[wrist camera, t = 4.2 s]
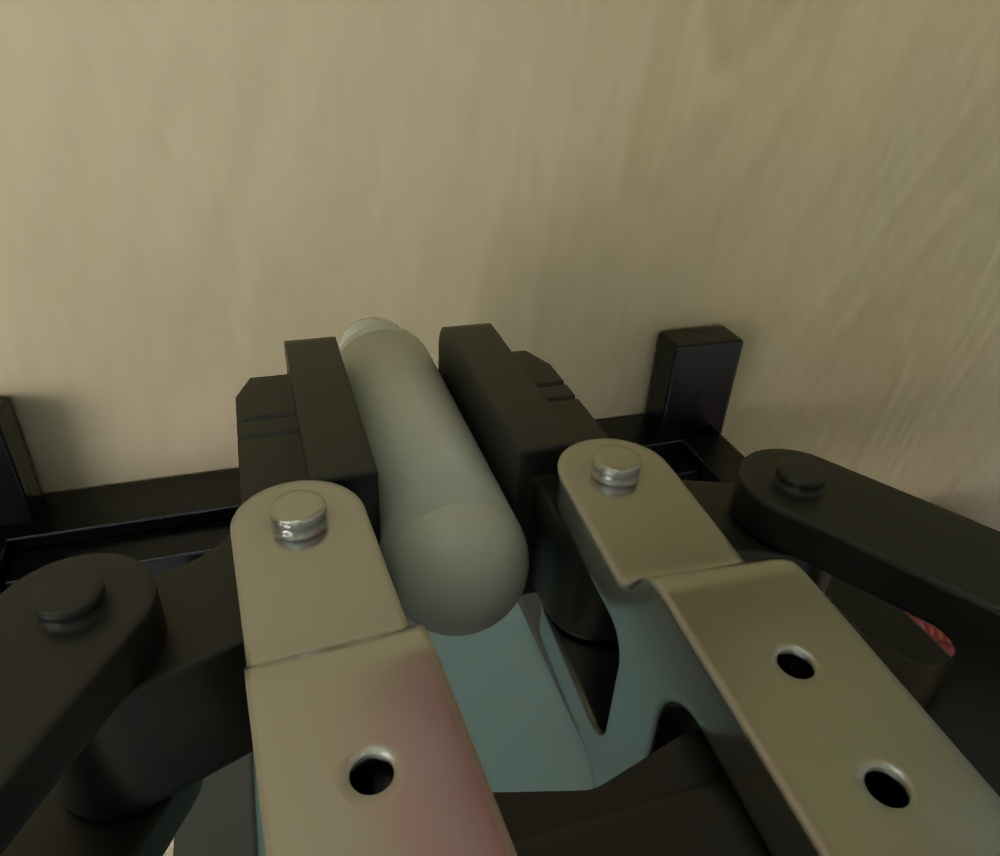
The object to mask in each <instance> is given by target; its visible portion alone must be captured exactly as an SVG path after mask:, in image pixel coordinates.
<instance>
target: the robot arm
mask: <svg viewBox="0 0 1000 856" xmlns="http://www.w3.org/2000/svg"><path fill="white" fill-rule="evenodd" d="M284 347H285V357H286V365H287V374H286V375H276V376H266V377H256V378H250V379H249V381H248V382H247V383H246V385H245V386H244V387H243V389H242V390H241V391H240V393H239V394H238V395H237V397H236V414H237V434H238V453H239V473H240V492H241V506H240V507H239V508H238V510H237V511H236V512H235V514H234V516H233V518H232V521H231V524H230V534H229V536H228V537H227V538H226V539H225V540H224V541H222V542H221V543H220V544H219V545H218V546H216V547H215V548H214V549H212V550H211V551H209V552H208V553H206V554H204V555H202V556H201V557H199V558H197V559H195V560H193V561H190V562H188V563H186V564H183V565H181V566H178V567H176V568H173V569H170V570H168V571H165V572H163V573H160V574H157V575H155V576H154V575H153V573H152V572H151V571H150V569H149V568H148V567H147V566H146V565H144V564H143V563H142V562H140V561H138V560H136V559H134V558H132V557H129V556H125V555H121V554H114V553H92V554H83V555H78V556H73V557H69V558H65V559H62V560H59V561H55V562H53V563H50V564H48V565H45V566H43V567H41V568H39V569H37V570H35V571H33V572H31V573H29V574H27V575H26V576H24V577H23V578H21V579H19V580H18V581H16V582H15V583H14V584H13V585H11V586H10V587H9V588H7V589H6V590H5V591H4V592H3V593H2V594H1V595H0V856H163V855H164V853H165V851H166V850H167V848H168V846H169V845H170V843H171V841H172V840H173V838H174V836H175V835H176V833H177V831H178V830H179V828H180V826H181V825H182V823H183V821H184V820H185V818H186V816H187V815H188V813H189V811H190V810H191V808H192V806H193V805H194V803H195V801H196V799H197V797H198V795H199V793H200V791H201V788H202V785H203V782H204V778H205V777H207V776H209V775H211V774H213V773H214V772H216V771H218V770H220V769H222V768H224V767H225V766H227V765H229V764H231V763H233V762H234V761H236V760H238V759H240V758H242V757H244V756H245V755H247V754H249V753H251V752H253V751H254V759H255V768H256V776H257V784H258V793H259V801H260V809H261V818H262V826H263V834H264V842H265V851H266V856H1000V531H997V530H995V529H992V528H990V527H987V526H985V525H983V524H980V523H978V522H975V521H973V520H970V519H968V518H965V517H963V516H961V515H958V514H956V513H953V512H951V511H948V510H946V509H944V508H941V507H939V506H936V505H934V504H931V503H929V502H927V501H924V500H922V499H919V498H917V497H914V496H912V495H910V494H907V493H905V492H902V491H900V490H897V489H895V488H893V487H890V486H888V485H885V484H883V483H880V482H878V481H876V480H873V479H871V478H868V477H866V476H863V475H861V474H858V473H856V472H854V471H851V470H849V469H846V468H844V467H841V466H839V465H837V464H834V463H832V462H829V461H827V460H824V459H822V458H819V457H817V456H814V455H811V454H808V453H804V452H800V451H795V450H788V449H766V450H760V451H756V452H754V453H751V454H749V455H748V456H747V457H745V458H744V459H743V461H742V462H741V464H740V467H739V471H738V474H737V478H736V482H735V483H723V482H707V481H690V480H681V479H680V478H679V477H678V476H677V474H676V473H675V472H674V471H673V469H672V468H671V467H670V465H669V464H668V463H667V462H666V461H665V460H664V459H663V458H662V457H661V456H659V455H658V454H657V453H655V452H654V451H652V450H650V449H648V448H646V447H644V446H642V445H639V444H636V443H633V442H629V441H625V440H619V439H610V438H609V437H608V436H607V434H606V433H605V432H604V431H603V430H602V428H601V427H600V426H599V425H598V423H597V422H596V421H595V420H594V418H593V417H592V416H591V415H590V413H589V412H588V411H587V410H586V408H585V407H584V406H583V405H582V404H581V402H580V401H579V400H578V399H575V395H574V394H573V392H572V391H571V390H570V389H569V387H568V386H567V385H564V381H563V380H562V379H561V378H560V376H559V375H558V374H557V373H556V371H555V370H554V369H553V368H552V366H551V365H550V364H549V363H547V362H545V361H543V360H541V359H540V358H538V357H536V356H534V355H532V354H531V353H529V352H527V351H516V352H511V350H510V349H509V348H508V346H507V345H506V344H505V342H504V341H503V340H502V338H501V337H500V335H499V334H498V333H497V331H496V330H495V329H494V327H493V326H492V325H491V324H490V323H486V324H474V325H463V326H452V327H443V328H442V329H441V331H440V336H439V373H440V375H441V377H442V378H443V380H444V382H445V384H446V386H447V388H448V390H449V392H450V394H451V395H452V397H453V399H454V401H455V403H456V405H457V407H458V409H459V411H460V412H461V414H462V416H463V418H464V420H465V422H466V424H467V426H468V428H469V429H470V431H471V433H472V435H473V437H474V439H475V441H476V443H477V445H478V447H479V448H480V450H481V452H482V454H483V456H484V458H485V460H486V462H487V464H488V465H489V467H490V469H491V471H492V473H493V475H494V477H495V479H496V481H497V482H498V484H499V486H500V488H501V490H502V492H503V494H504V496H505V498H506V499H507V501H508V503H509V505H510V507H511V509H512V511H513V513H514V515H515V516H516V518H517V520H518V522H519V524H520V526H521V528H522V530H523V533H524V536H525V539H526V542H527V545H528V552H529V571H528V576H527V580H526V585H525V588H524V590H523V592H522V595H526V594H531V593H537V595H538V597H539V599H540V601H541V603H542V610H541V619H540V635H541V639H542V642H543V644H544V647H545V649H546V652H547V654H548V657H549V659H550V662H551V664H552V667H553V669H554V672H555V674H556V677H557V680H558V682H559V685H560V687H561V690H562V692H563V695H564V697H565V700H566V702H567V705H568V707H569V710H570V712H571V715H572V717H573V720H574V722H575V725H576V727H577V730H578V732H579V735H580V737H581V740H582V742H583V745H584V747H585V750H586V753H587V756H588V759H589V763H590V767H591V771H592V778H593V789H590V790H580V791H534V792H492V790H491V787H490V785H489V782H488V780H487V777H486V775H485V772H484V770H483V767H482V764H481V762H480V759H479V757H478V754H477V752H476V749H475V747H474V744H473V742H472V739H471V737H470V734H469V732H468V729H467V727H466V724H465V722H464V719H463V717H462V714H461V712H460V709H459V706H458V704H457V701H456V699H455V696H454V694H453V691H452V689H451V686H450V684H449V681H448V679H447V676H446V674H445V671H444V669H443V666H442V664H441V661H440V659H439V656H438V654H437V651H436V649H435V646H434V644H433V641H432V639H431V637H430V635H429V633H428V631H427V630H426V628H425V627H424V626H423V625H422V624H416V625H412V626H409V625H408V622H407V620H406V617H405V615H404V612H403V609H402V606H401V604H400V601H399V598H398V596H397V593H396V590H395V588H394V585H393V582H392V579H391V577H390V574H389V571H388V569H387V566H386V563H385V561H384V558H383V555H382V553H381V550H380V547H379V544H380V539H381V529H380V508H379V487H378V471H377V467H376V464H375V461H374V458H373V455H372V452H371V448H370V445H369V442H368V439H367V436H366V433H365V429H364V426H363V423H362V420H361V417H360V414H359V410H358V407H357V404H356V401H355V398H354V395H353V391H352V388H351V385H350V382H349V379H348V376H347V372H346V369H345V366H344V363H343V360H342V357H341V353H340V350H339V347H338V344H337V341H336V338H335V337H326V338H314V339H303V340H292V341H284ZM831 576H835V577H837V578H839V579H841V580H843V581H845V582H847V583H849V584H851V585H853V586H855V587H857V588H859V589H861V590H863V591H865V592H867V593H869V594H871V595H873V596H875V597H877V598H879V599H881V600H883V601H885V602H887V603H889V604H891V605H893V606H895V607H897V608H899V609H901V610H903V611H905V612H907V613H909V614H911V615H913V616H915V617H917V618H919V619H922V620H924V621H926V622H928V623H930V624H931V625H933V626H935V627H936V628H938V629H939V630H940V631H942V632H943V633H944V634H945V635H946V636H947V637H948V638H949V640H950V641H951V642H952V644H953V646H954V648H955V651H956V652H955V654H954V656H953V657H952V659H951V660H950V661H948V662H947V663H945V664H942V665H937V666H929V665H923V664H920V663H917V662H915V661H913V660H911V659H909V658H907V657H905V656H903V655H901V654H899V653H897V652H895V651H893V650H891V649H890V648H888V647H886V646H884V645H882V644H880V643H878V642H876V641H874V640H872V639H871V638H869V637H867V636H865V635H863V634H861V633H859V632H857V631H856V630H855V629H854V628H853V627H852V626H851V625H850V623H849V622H848V621H847V620H846V619H845V618H844V616H843V615H842V614H841V613H840V612H839V611H838V610H837V608H836V607H835V606H834V605H833V604H832V603H831V601H830V600H829V599H828V598H827V597H826V596H825V595H824V594H825V591H826V589H827V586H828V584H829V581H830V579H831Z"/></svg>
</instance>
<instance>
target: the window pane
mask: <svg viewBox="0 0 1000 856" xmlns="http://www.w3.org/2000/svg"><path fill="white" fill-rule="evenodd" d="M339 350H340V353H341V357H342V360H343V363H344V366H345V369H346V372H347V376H348V379H349V382H350V385H351V388H352V391H353V395H354V398H355V401H356V404H357V407H358V410H359V414H360V417H361V420H362V423H363V426H364V429H365V433H366V436H367V439H368V442H369V445H370V448H371V452H372V455H373V458H374V461H375V464H376V467H377V471H378V487H379V508H380V529H381V539H380V544H379V547H380V550H381V553H382V555H383V558H384V561H385V563H386V566H387V569H388V571H389V574H390V577H391V579H392V582H393V585H394V588H395V590H396V593H397V596H398V598H399V601H400V604H401V606H402V609H403V612H404V615H405V617H406V620H407V622H408V625H409V626H412V625H416V624H422V625H423V626H424V627H425V628H426V630H427V631H428V633H429V635H430V637H431V639H432V641H433V644H434V646H435V649H436V651H437V654H438V656H439V659H440V661H441V664H442V666H443V669H444V671H445V674H446V676H447V679H448V681H449V684H450V686H451V689H452V691H453V694H454V696H455V699H456V701H457V704H458V706H459V709H460V712H461V714H462V717H463V719H464V722H465V724H466V727H467V729H468V732H469V734H470V737H471V739H472V742H473V744H474V747H475V749H476V752H477V754H478V757H479V759H480V762H481V764H482V767H483V770H484V772H485V775H486V777H487V780H488V782H489V785H490V787H491V790H492V792H534V791H580V790H590V789H593V778H592V771H591V767H590V763H589V759H588V756H587V753H586V750H585V747H584V745H583V742H582V740H581V737H580V735H579V732H578V730H577V727H576V725H575V722H574V720H573V717H572V715H571V712H570V710H569V707H568V705H567V702H566V700H565V697H564V695H563V692H562V690H561V687H560V685H559V682H558V680H557V677H556V674H555V672H554V669H553V667H552V664H551V662H550V659H549V657H548V654H547V652H546V649H545V647H544V644H543V642H542V639H541V635H540V619H541V610H542V603H541V601H540V599H539V597H538V595H537V593H531V594H526V595H522V592H523V590H524V588H525V585H526V580H527V576H528V571H529V552H528V545H527V542H526V539H525V536H524V533H523V530H522V528H521V526H520V524H519V522H518V520H517V518H516V516H515V515H514V513H513V511H512V509H511V507H510V505H509V503H508V501H507V499H506V498H505V496H504V494H503V492H502V490H501V488H500V486H499V484H498V482H497V481H496V479H495V477H494V475H493V473H492V471H491V469H490V467H489V465H488V464H487V462H486V460H485V458H484V456H483V454H482V452H481V450H480V448H479V447H478V445H477V443H476V441H475V439H474V437H473V435H472V433H471V431H470V429H469V428H468V426H467V424H466V422H465V420H464V418H463V416H462V414H461V412H460V411H459V409H458V407H457V405H456V403H455V401H454V399H453V397H452V395H451V394H450V392H449V390H448V388H447V386H446V384H445V382H444V380H443V378H442V377H441V375H440V373H439V371H438V369H437V367H436V365H435V363H434V361H433V360H432V358H431V356H430V354H429V352H428V350H427V349H426V347H425V346H424V345H423V344H422V342H421V341H420V340H419V339H418V338H417V337H416V336H414V335H413V334H411V333H410V332H408V331H406V330H404V329H401V328H400V327H399V326H397V325H396V324H395V323H393V322H391V321H389V320H387V319H383V318H379V317H369V318H365V319H362V320H359V321H357V322H355V323H354V324H352V325H351V326H350V327H349V328H348V329H347V330H346V331H345V332H344V334H343V336H342V338H341V340H340V343H339ZM173 856H266V851H265V842H264V834H263V826H262V818H261V809H260V801H259V793H258V784H257V776H256V768H255V759H254V751H253V752H251V753H249V754H247V755H245V756H244V757H242V758H240V759H238V760H236V761H234V762H233V763H231V764H229V765H227V766H225V767H224V768H222V769H220V770H218V771H216V772H214V773H213V774H211V775H209V776H207V777H205V778H204V782H203V785H202V788H201V791H200V793H199V795H198V797H197V799H196V801H195V803H194V805H193V806H192V808H191V810H190V811H189V813H188V815H187V816H186V818H185V820H184V821H183V823H182V825H181V826H180V828H179V830H178V831H177V833H176V835H175V836H174V852H173Z"/></svg>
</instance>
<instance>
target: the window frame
mask: <svg viewBox="0 0 1000 856" xmlns="http://www.w3.org/2000/svg"><path fill="white" fill-rule="evenodd" d="M742 346H743V340H742V339H741V338H739V337H738V336H737V335H735V334H734V333H733V332H731V331H730V330H729V329H727V328H726V327H724V326H717V327H707V328H697V329H687V330H677V331H667V332H660V333H659V336H658V341H657V347H656V352H655V358H654V364H653V369H652V375H651V381H650V386H649V392H648V397H647V403H646V409H645V414H640V415H632V416H625V417H617V418H610V419H603V420H595V421H596V422H597V423H598V425H599V426H600V427H601V428H602V430H603V431H604V432H605V433H606V434H607V436H608V437H609V438H610V439H619V440H625V441H629V442H633V443H636V444H639V445H642V446H644V447H646V448H648V449H650V450H652V451H654V452H655V453H657V454H658V455H659V456H661V457H662V458H663V459H664V460H665V461H666V462H667V463H668V464H669V465H670V467H671V468H672V469H673V471H674V472H675V473H676V474H677V476H678V477H679V478H680V479H681V480H690V481H707V482H723V483H735V482H736V478H737V474H738V471H739V467H740V464H741V462H742V461H743V459H744V458H745V457H744V456H743V455H742V454H741V453H740V452H739V451H738V450H737V449H736V448H734V447H733V446H732V445H731V444H730V443H729V442H728V441H727V440H726V439H725V438H724V437H723V436H722V435H721V431H722V427H723V423H724V419H725V415H726V411H727V407H728V403H729V399H730V395H731V391H732V387H733V383H734V379H735V374H736V370H737V366H738V362H739V358H740V354H741V350H742ZM240 506H241V492H240V473H239V468H237V469H229V470H222V471H214V472H207V473H199V474H192V475H184V476H177V477H169V478H162V479H154V480H147V481H140V482H132V483H125V484H117V485H110V486H102V487H95V488H87V489H80V490H72V491H65V492H57V493H50V494H42V491H41V488H40V485H39V482H38V479H37V477H36V474H35V471H34V468H33V465H32V462H31V459H30V457H29V454H28V451H27V448H26V445H25V442H24V440H23V437H22V434H21V431H20V428H19V425H18V422H17V420H16V417H15V414H14V411H13V408H12V405H11V403H10V400H9V398H8V397H0V595H1V594H2V593H3V592H4V591H5V590H6V589H7V588H9V587H10V586H11V585H13V584H14V583H15V582H16V581H18V580H19V579H21V578H23V577H24V576H26V575H27V574H29V573H31V572H33V571H35V570H37V569H39V568H41V567H43V566H45V565H48V564H50V563H53V562H55V561H59V560H62V559H65V558H69V557H73V556H78V555H83V554H92V553H114V554H121V555H125V556H129V557H132V558H134V559H136V560H138V561H140V562H142V563H143V564H144V565H146V566H147V567H148V568H149V569H150V571H151V572H152V573H153V575H154V576H155V575H157V574H160V573H163V572H165V571H168V570H170V569H173V568H176V567H178V566H181V565H183V564H186V563H188V562H190V561H193V560H195V559H197V558H199V557H201V556H202V555H204V554H206V553H208V552H209V551H211V550H212V549H214V548H215V547H216V546H218V545H219V544H220V543H221V542H222V541H224V540H225V539H226V538H227V537H228V536H229V534H230V524H231V521H232V518H233V516H234V514H235V512H236V511H237V510H238V508H239V507H240ZM824 595H825V596H826V597H827V598H828V599H829V600H830V601H831V603H832V604H833V605H834V606H835V607H836V608H837V610H838V611H839V612H840V613H841V614H842V615H843V616H844V618H845V619H846V620H847V621H848V622H849V623H850V625H851V626H852V627H853V628H854V629H855V630H856V631H857V632H859V633H861V634H863V635H865V636H867V637H869V638H871V639H872V640H874V641H876V642H878V643H880V644H882V645H884V646H886V647H888V648H890V649H891V650H893V651H895V652H897V653H899V654H901V655H903V656H905V657H907V658H909V659H911V660H913V661H915V662H917V663H920V664H923V665H929V666H937V665H942V664H945V663H947V662H948V661H950V660H951V659H952V656H951V655H950V654H949V653H948V652H946V651H945V650H944V649H943V648H942V647H941V646H940V645H939V644H938V643H937V642H936V641H935V640H934V639H933V638H932V637H931V636H930V635H929V634H928V633H927V632H926V631H925V630H924V629H923V628H922V627H921V626H919V625H918V624H917V623H916V622H915V621H914V620H913V619H912V618H911V617H910V616H909V615H908V614H907V613H906V612H905V611H903V610H901V609H899V608H897V607H895V606H893V605H891V604H889V603H887V602H885V601H883V600H881V599H879V598H877V597H875V596H873V595H871V594H869V593H867V592H865V591H863V590H861V589H859V588H857V587H855V586H853V585H851V584H849V583H847V582H845V581H843V580H841V579H839V578H837V577H835V576H831V579H830V581H829V584H828V586H827V589H826V591H825V594H824Z"/></svg>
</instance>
